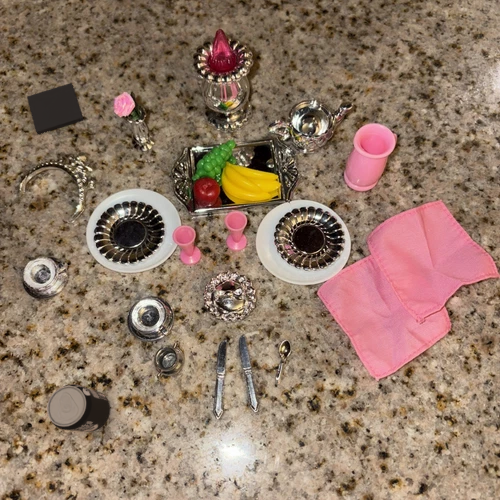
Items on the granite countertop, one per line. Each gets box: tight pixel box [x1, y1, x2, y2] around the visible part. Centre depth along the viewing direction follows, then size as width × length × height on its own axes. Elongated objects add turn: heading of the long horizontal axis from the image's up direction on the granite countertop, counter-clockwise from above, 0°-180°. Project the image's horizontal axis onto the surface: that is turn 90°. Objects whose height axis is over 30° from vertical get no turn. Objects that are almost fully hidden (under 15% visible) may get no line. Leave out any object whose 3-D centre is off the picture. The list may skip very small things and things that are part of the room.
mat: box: [26, 82, 84, 135], centre depth 106 cm, size 10×10×1 cm
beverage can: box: [46, 383, 111, 433], centre depth 78 cm, size 7×7×12 cm
